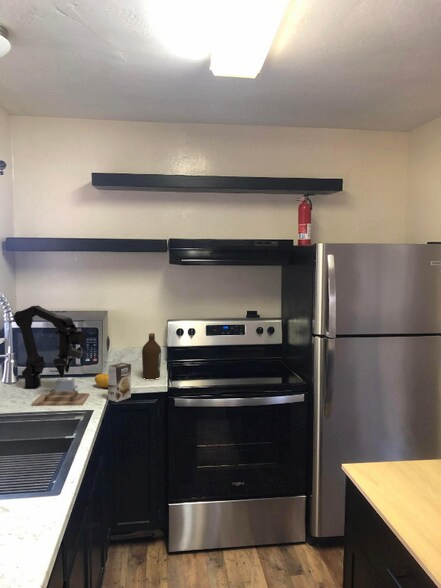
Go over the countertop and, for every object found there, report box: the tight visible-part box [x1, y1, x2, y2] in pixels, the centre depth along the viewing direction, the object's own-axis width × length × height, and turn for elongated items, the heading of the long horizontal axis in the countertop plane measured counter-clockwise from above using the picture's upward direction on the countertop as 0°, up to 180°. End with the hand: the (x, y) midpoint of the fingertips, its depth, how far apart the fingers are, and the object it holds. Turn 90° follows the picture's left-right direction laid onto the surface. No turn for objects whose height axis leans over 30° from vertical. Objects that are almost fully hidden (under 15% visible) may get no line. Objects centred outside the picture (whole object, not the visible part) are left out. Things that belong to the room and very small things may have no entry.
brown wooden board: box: [31, 390, 90, 407], centre depth 201 cm, size 22×15×3 cm
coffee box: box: [107, 362, 132, 403], centre depth 205 cm, size 9×6×16 cm
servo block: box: [52, 377, 78, 391], centre depth 215 cm, size 11×4×7 cm, turn 96°
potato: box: [94, 373, 108, 389], centre depth 223 cm, size 7×14×7 cm, turn 68°
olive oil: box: [141, 332, 162, 380], centre depth 242 cm, size 11×11×25 cm
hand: (64, 374), depth 214 cm, fingers open, 9 cm apart
